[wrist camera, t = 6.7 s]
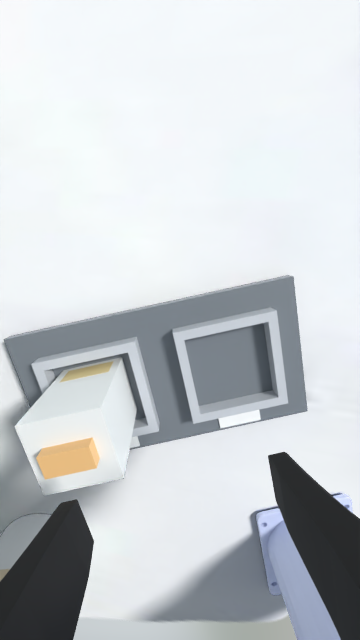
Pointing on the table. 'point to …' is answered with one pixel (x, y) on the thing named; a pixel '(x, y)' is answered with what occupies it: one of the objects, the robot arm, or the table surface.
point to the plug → (80, 428)
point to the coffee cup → (18, 539)
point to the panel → (185, 359)
